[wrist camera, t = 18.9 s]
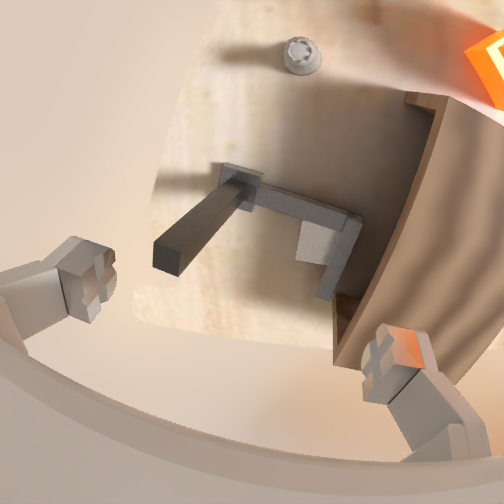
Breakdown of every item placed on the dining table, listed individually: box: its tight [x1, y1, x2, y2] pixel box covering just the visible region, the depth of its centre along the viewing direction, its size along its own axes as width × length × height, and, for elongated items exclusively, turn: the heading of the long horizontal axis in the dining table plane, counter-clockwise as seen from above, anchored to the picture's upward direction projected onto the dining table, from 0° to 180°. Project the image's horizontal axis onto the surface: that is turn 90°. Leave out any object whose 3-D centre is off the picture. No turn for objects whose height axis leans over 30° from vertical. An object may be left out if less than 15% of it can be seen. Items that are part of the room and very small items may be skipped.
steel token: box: [295, 220, 339, 265], centre depth 42 cm, size 6×6×2 cm
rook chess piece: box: [283, 37, 322, 76], centre depth 28 cm, size 4×4×8 cm
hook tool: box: [153, 163, 363, 301], centre depth 34 cm, size 18×14×20 cm
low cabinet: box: [332, 91, 504, 385], centre depth 33 cm, size 20×32×13 cm, turn 169°
